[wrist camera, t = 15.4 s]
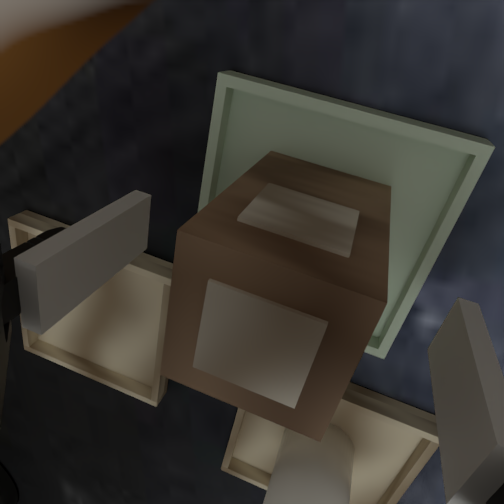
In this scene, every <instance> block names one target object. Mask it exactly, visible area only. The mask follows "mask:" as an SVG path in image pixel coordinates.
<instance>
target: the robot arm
mask: <svg viewBox="0 0 504 504" xmlns="http://www.w3.org/2000/svg"><path fill="white" fill-rule="evenodd" d="M150 204H151V195H150V194H147V193H144V192H141V191H138V190H135V191H133V192H131V193H129V194H127V195H126V196H124V197H122V198H120V199H118V200H117V201H115V202H113V203H111V204H109V205H108V206H106V207H104V208H102V209H100V210H99V211H97V212H95V213H93V214H91V215H90V216H88V217H86V218H84V219H82V220H81V221H79V222H77V223H75V224H73V225H72V226H70V227H68V228H65V227H58V228H54V229H50V230H47V231H45V232H43V233H41V234H39V235H37V236H36V238H35V237H34V238H32V239H30V240H28V241H27V242H24V243H22V244H20V245H19V246H17V247H15V248H13V249H11V250H9V251H7V252H5V253H3V254H2V252H1V245H0V428H1V419H2V410H3V401H4V392H5V383H6V375H7V366H8V357H9V348H10V339H11V330H12V326H11V320H12V319H13V318H15V317H16V316H17V315H19V314H20V315H21V324H22V327H23V328H25V329H28V330H30V331H32V332H35V333H37V334H40V335H42V334H44V333H45V332H46V331H47V330H49V329H50V328H51V327H52V326H53V325H55V324H56V323H57V322H58V321H60V320H61V319H62V318H63V317H64V316H66V315H67V314H68V313H69V312H70V311H72V310H73V309H74V308H75V307H77V306H78V305H79V304H80V303H81V302H83V301H84V300H85V299H86V298H87V297H89V296H90V295H91V294H92V293H94V292H95V291H96V290H97V289H98V288H100V287H101V286H102V285H103V284H104V283H106V282H107V281H108V280H109V279H111V278H112V277H113V276H114V275H115V274H117V273H118V272H119V271H120V270H122V269H123V268H124V267H125V266H126V265H128V264H129V263H130V262H131V261H132V260H134V259H135V258H136V257H137V256H139V255H140V254H141V253H142V252H143V251H145V250H146V249H147V241H148V229H149V217H150ZM428 357H429V365H430V374H431V382H432V390H433V398H434V407H435V415H436V423H437V431H438V440H439V448H440V456H441V464H442V473H443V481H444V489H445V497H446V504H504V377H503V374H502V371H501V368H500V365H499V362H498V359H497V356H496V353H495V350H494V348H493V345H492V342H491V339H490V336H489V333H488V330H487V327H486V324H485V321H484V318H483V315H482V312H481V309H480V307H479V304H477V303H474V302H471V301H468V300H465V299H462V298H459V297H458V298H457V300H456V302H455V303H454V305H453V307H452V308H451V310H450V312H449V314H448V315H447V317H446V319H445V320H444V322H443V324H442V325H441V327H440V329H439V331H438V332H437V334H436V336H435V337H434V339H433V341H432V342H431V344H430V346H429V348H428ZM17 501H18V493H17V490H16V487H15V485H14V483H13V481H12V480H11V478H10V476H9V475H8V474H7V472H6V471H5V470H4V469H3V467H2V466H1V465H0V504H16V503H17Z"/></svg>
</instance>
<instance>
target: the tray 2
mask: <svg viewBox="0 0 504 504" xmlns="http://www.w3.org/2000/svg"><path fill="white" fill-rule="evenodd" d="M494 149H495V146H494V145H493V144H492V143H491V142H490V141H489V140H488V139H485V138H481V137H478V136H474V135H470V134H467V133H463V132H459V131H455V130H452V129H448V128H444V127H440V126H437V125H433V124H429V123H425V122H422V121H418V120H414V119H411V118H407V117H403V116H399V115H396V114H392V113H388V112H384V111H381V110H377V109H373V108H369V107H366V106H362V105H358V104H355V103H351V102H347V101H343V100H340V99H336V98H332V97H328V96H325V95H321V94H317V93H313V92H310V91H306V90H302V89H299V88H295V87H291V86H287V85H284V84H280V83H276V82H272V81H269V80H265V79H261V78H257V77H254V76H250V75H246V74H243V73H239V72H235V71H231V70H229V71H223V72H218V76H217V83H216V90H215V97H214V103H213V110H212V117H211V124H210V131H209V138H208V144H207V151H206V158H205V165H204V172H203V178H202V185H201V192H200V199H199V206H198V212H199V211H200V210H201V209H203V208H204V207H205V206H206V205H207V204H209V203H210V202H211V201H212V200H213V199H214V198H216V197H217V196H218V195H219V194H220V193H222V192H223V191H224V190H225V189H226V188H227V187H229V186H230V185H231V184H232V183H233V182H235V181H236V180H237V179H238V178H239V177H240V176H242V175H243V174H244V173H245V172H246V171H248V170H249V169H250V168H251V167H252V166H253V165H255V164H256V163H257V162H258V161H259V160H261V159H262V158H263V157H264V156H265V155H267V154H268V153H269V152H270V151H274V152H278V153H281V154H284V155H288V156H291V157H294V158H298V159H301V160H304V161H308V162H311V163H314V164H318V165H321V166H325V167H328V168H331V169H335V170H338V171H341V172H345V173H348V174H351V175H355V176H358V177H361V178H365V179H368V180H371V181H375V182H378V183H381V184H385V185H388V186H391V210H390V240H389V270H388V299H387V305H386V307H385V309H384V311H383V313H382V315H381V318H380V320H379V322H378V324H377V326H376V328H375V330H374V332H373V334H372V336H371V338H370V340H369V342H368V345H367V347H366V349H365V351H364V352H366V353H369V354H371V355H374V356H377V357H379V358H382V359H384V358H385V356H386V355H387V353H388V351H389V349H390V347H391V345H392V343H393V341H394V339H395V337H396V335H397V334H398V332H399V330H400V328H401V326H402V324H403V322H404V320H405V318H406V316H407V314H408V313H409V311H410V309H411V307H412V305H413V303H414V301H415V299H416V297H417V295H418V294H419V292H420V290H421V288H422V286H423V284H424V282H425V280H426V278H427V276H428V274H429V273H430V271H431V269H432V267H433V265H434V263H435V261H436V259H437V257H438V255H439V253H440V252H441V250H442V248H443V246H444V244H445V242H446V240H447V238H448V236H449V234H450V232H451V231H452V229H453V227H454V225H455V223H456V221H457V219H458V217H459V215H460V213H461V212H462V210H463V208H464V206H465V204H466V202H467V200H468V198H469V196H470V194H471V192H472V191H473V189H474V187H475V185H476V183H477V181H478V179H479V177H480V175H481V173H482V171H483V170H484V168H485V166H486V164H487V162H488V160H489V158H490V156H491V154H492V152H493V151H494Z"/></svg>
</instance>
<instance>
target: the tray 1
mask: <svg viewBox="0 0 504 504" xmlns="http://www.w3.org/2000/svg"><path fill="white" fill-rule="evenodd" d="M8 225H9V233H10V241H11V249H13V248H15V247H17V246H19V245H20V244H22V243H24V242H27V241H28V240H30V239H32V238H34V237H35V238H36V236H37V235H39V234H41V233H43V232H45V231H47V230H50V229H54V228H58V227H65V228H68V227H70V226H69V225H67V224H64V223H61V222H58V221H56V220H53V219H50V218H47V217H45V216H42V215H39V214H37V213H34V212H31V211H28V210H25V211H23V212H21V213H19V214H17V215H14V216H12V217H10V218H8ZM172 270H173V263H170V262H168V261H165V260H162V259H159V258H157V257H154V256H151V255H149V254H146V253H143V252H142V253H141V254H140V255H139V256H137V257H136V258H135V259H134V260H132V261H131V262H130V263H129V264H128V265H126V266H125V267H124V268H123V269H122V270H120V271H119V272H118V273H117V274H115V275H114V276H113V277H112V278H111V279H109V280H108V281H107V282H106V283H104V284H103V285H102V286H101V287H100V288H98V289H97V290H96V291H95V292H94V293H92V294H91V295H90V296H89V297H87V298H86V299H85V300H84V301H83V302H81V303H80V304H79V305H78V306H77V307H75V308H74V309H73V310H72V311H70V312H69V313H68V314H67V315H66V316H64V317H63V318H62V319H61V320H60V321H58V322H57V323H56V324H55V325H53V326H52V327H51V328H50V329H49V330H47V331H46V332H45V333H44V334H42V335H40V334H37V333H35V332H32V331H30V330H28V329H25V328H23V327H22V324H21V327H22V335H23V343H24V349H25V350H27V351H30V352H32V353H34V354H36V355H39V356H41V357H43V358H46V359H48V360H50V361H52V362H55V363H57V364H59V365H62V366H64V367H66V368H68V369H71V370H73V371H75V372H78V373H80V374H82V375H84V376H87V377H89V378H91V379H94V380H96V381H98V382H100V383H103V384H105V385H107V386H110V387H112V388H114V389H116V390H119V391H121V392H123V393H126V394H128V395H130V396H132V397H135V398H137V399H139V400H142V401H144V402H146V403H149V404H151V405H153V406H155V407H157V405H158V404H159V402H160V401H161V399H162V398H163V396H164V395H165V393H166V392H167V386H168V379H169V378H166V377H164V376H162V375H160V370H161V362H162V353H163V345H164V337H165V328H166V320H167V312H168V303H169V295H170V287H171V279H172ZM20 320H21V315H20Z"/></svg>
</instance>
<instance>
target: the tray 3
mask: <svg viewBox="0 0 504 504" xmlns="http://www.w3.org/2000/svg"><path fill="white" fill-rule="evenodd" d="M330 423H331V424H333V425H335V426H337V427H338V428H340V429H341V430H343V431H344V432H345V433H346V434H347V435H348V436H349V438H350V439H351V441H352V443H353V445H354V450H355V453H354V463H353V473H352V483H351V493H350V502H349V504H396V503H397V502H398V501H399V499H400V498H401V496H402V495H403V494H404V492H405V491H406V490H407V488H408V487H409V486H410V484H411V483H412V482H413V480H414V479H415V478H416V476H417V475H418V474H419V472H420V471H421V470H422V468H423V467H424V465H425V464H426V463H427V461H428V460H429V459H430V457H431V456H432V455H433V453H434V452H435V451H436V449H437V448H438V447H439V440H438V431H437V423H436V415H433V414H430V413H428V412H425V411H423V410H420V409H418V408H415V407H412V406H410V405H407V404H405V403H402V402H400V401H397V400H395V399H392V398H389V397H387V396H384V395H382V394H379V393H377V392H374V391H371V390H369V389H366V388H364V387H361V386H359V385H356V384H353V383H351V382H349V384H348V386H347V388H346V390H345V392H344V394H343V396H342V399H341V401H340V403H339V405H338V407H337V409H336V411H335V413H334V415H333V417H332V419H331V421H330ZM284 430H285V427H283V426H280V425H278V424H276V423H273V422H271V421H269V420H266V419H264V418H261V417H259V416H257V415H254V414H252V413H250V412H247V411H245V410H242V409H240V408H238V411H237V414H236V418H235V421H234V425H233V428H232V432H231V435H230V439H229V442H228V446H227V449H226V453H225V456H224V460H223V463H222V467H221V470H223V471H225V472H227V473H230V474H232V475H234V476H236V477H238V478H241V479H243V480H245V481H247V482H249V483H252V484H254V485H256V486H258V487H260V488H263V489H265V490H267V488H268V485H269V481H270V478H271V475H272V471H273V468H274V464H275V461H276V457H277V454H278V450H279V447H280V444H281V440H282V437H283V433H284Z"/></svg>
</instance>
